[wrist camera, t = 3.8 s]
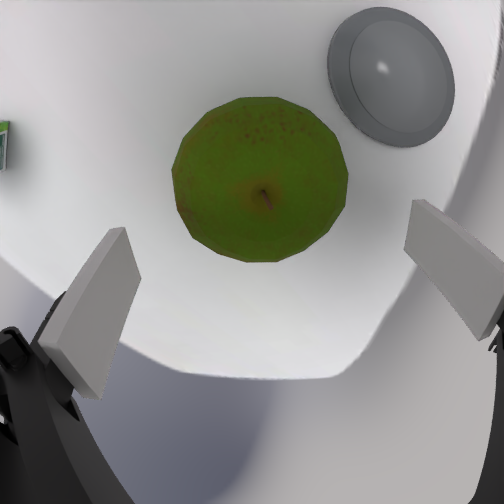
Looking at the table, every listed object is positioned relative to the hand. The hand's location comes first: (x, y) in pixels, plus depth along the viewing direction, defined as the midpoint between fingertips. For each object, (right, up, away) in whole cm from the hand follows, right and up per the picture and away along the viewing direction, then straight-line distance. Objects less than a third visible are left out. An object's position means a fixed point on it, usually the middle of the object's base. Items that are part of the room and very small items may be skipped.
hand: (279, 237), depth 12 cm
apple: (-1, +8, +12) cm, 14 cm away
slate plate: (+12, +16, +7) cm, 21 cm away
